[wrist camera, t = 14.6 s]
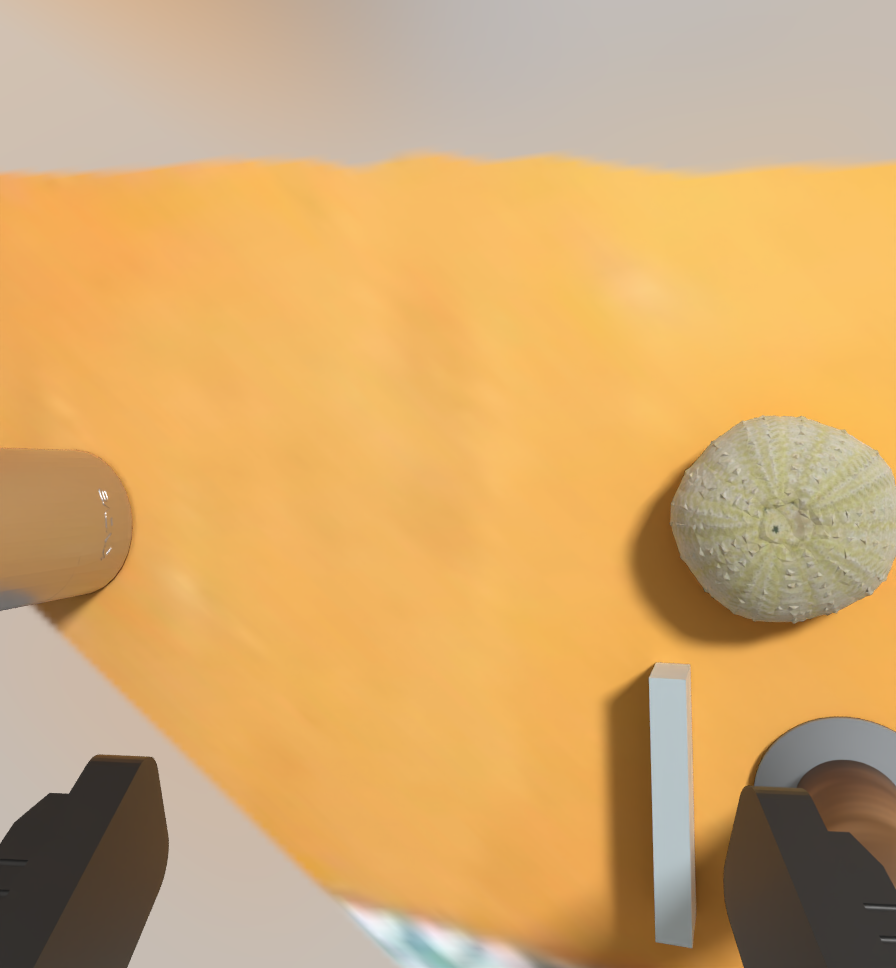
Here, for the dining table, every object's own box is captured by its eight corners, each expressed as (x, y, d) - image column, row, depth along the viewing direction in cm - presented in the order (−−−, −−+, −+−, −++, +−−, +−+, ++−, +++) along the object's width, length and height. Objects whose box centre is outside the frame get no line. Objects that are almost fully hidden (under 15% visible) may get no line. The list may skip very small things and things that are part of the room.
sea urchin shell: (925, 631, 34) (784, 650, 31) (776, 602, 41) (648, 615, 38) (927, 411, 34) (786, 406, 30) (777, 420, 41) (649, 417, 38)
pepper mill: (794, 855, 37) (831, 1169, 21) (792, 755, 37) (827, 988, 21) (908, 869, 36) (1048, 1221, 19) (906, 764, 36) (1044, 1026, 19)
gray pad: (755, 880, 38) (755, 884, 38) (751, 710, 38) (751, 712, 38) (952, 907, 35) (954, 912, 35) (948, 723, 35) (950, 726, 35)
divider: (662, 908, 40) (655, 941, 37) (656, 662, 40) (648, 677, 37) (696, 913, 39) (692, 948, 36) (690, 664, 39) (685, 679, 36)
